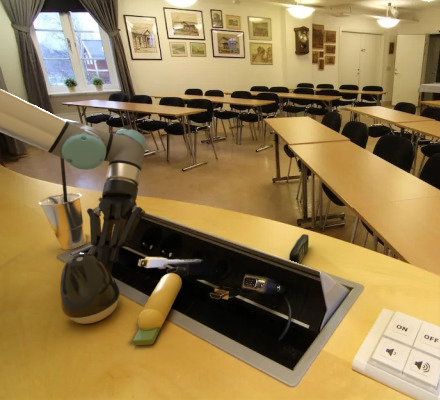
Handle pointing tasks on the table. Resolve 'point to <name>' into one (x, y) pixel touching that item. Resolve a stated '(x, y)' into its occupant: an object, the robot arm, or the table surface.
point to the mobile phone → (299, 249)
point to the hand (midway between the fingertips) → (103, 276)
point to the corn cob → (157, 309)
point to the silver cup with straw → (65, 216)
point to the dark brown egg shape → (87, 288)
